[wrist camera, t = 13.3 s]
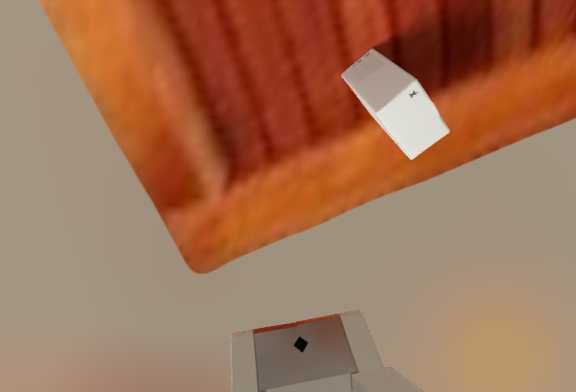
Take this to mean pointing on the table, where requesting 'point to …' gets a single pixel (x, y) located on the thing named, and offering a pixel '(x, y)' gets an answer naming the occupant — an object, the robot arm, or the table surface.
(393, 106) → the skincare box
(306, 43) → the table surface
